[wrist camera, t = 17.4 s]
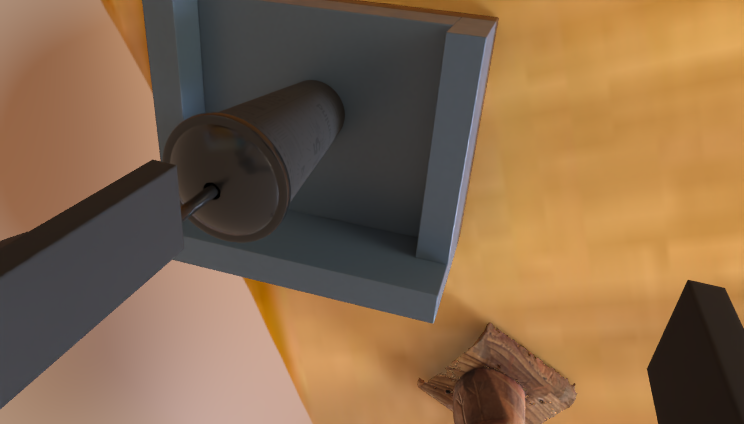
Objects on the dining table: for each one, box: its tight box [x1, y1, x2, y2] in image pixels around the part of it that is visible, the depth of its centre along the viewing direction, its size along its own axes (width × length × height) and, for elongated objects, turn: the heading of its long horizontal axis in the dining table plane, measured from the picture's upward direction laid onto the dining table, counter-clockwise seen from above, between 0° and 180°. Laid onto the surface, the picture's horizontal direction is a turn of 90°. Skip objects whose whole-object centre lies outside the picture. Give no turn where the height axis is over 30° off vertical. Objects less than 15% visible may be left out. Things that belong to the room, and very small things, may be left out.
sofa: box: [142, 0, 499, 323], centre depth 42 cm, size 19×24×13 cm
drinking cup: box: [162, 80, 345, 243], centre depth 33 cm, size 8×8×20 cm
